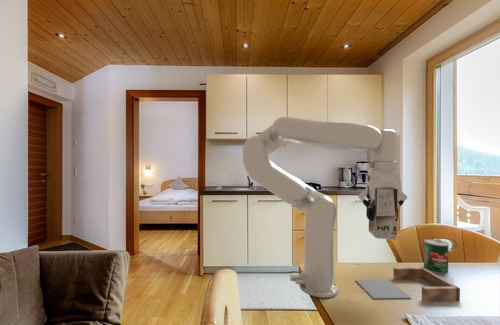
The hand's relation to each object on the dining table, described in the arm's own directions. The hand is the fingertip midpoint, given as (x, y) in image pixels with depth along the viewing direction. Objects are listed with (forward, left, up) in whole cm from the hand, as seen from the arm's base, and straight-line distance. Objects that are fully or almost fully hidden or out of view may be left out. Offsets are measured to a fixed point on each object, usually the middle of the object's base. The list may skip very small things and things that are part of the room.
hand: (382, 219), depth 84 cm
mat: (0, 0, -23) cm, 23 cm away
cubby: (+14, 0, -23) cm, 27 cm away
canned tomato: (+31, +15, -24) cm, 42 cm away
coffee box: (0, 0, -6) cm, 6 cm away
